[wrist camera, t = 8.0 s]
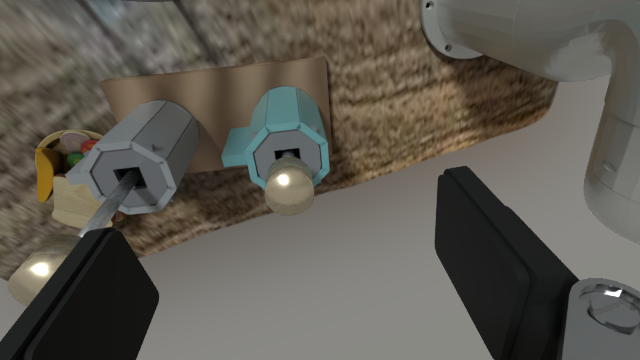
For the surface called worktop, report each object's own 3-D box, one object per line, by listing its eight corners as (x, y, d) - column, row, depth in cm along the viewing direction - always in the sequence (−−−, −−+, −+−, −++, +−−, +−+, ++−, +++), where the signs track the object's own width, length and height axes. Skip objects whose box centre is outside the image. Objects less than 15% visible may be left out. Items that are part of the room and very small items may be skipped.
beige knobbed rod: (160, 135, 33) (70, 254, 19) (177, 181, 35) (110, 313, 22) (104, 142, 32) (-28, 266, 18) (126, 187, 35) (25, 325, 21)
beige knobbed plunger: (306, 97, 39) (320, 162, 25) (310, 138, 42) (325, 217, 28) (261, 101, 39) (249, 171, 25) (268, 143, 42) (262, 225, 28)
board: (324, 56, 40) (326, 58, 39) (331, 152, 47) (332, 156, 46) (104, 79, 39) (99, 82, 38) (144, 174, 45) (141, 179, 44)
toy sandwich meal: (150, 144, 44) (137, 161, 40) (136, 220, 50) (123, 242, 46) (40, 111, 40) (14, 127, 36) (40, 198, 46) (17, 219, 42)
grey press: (189, 95, 39) (157, 137, 29) (206, 153, 43) (183, 208, 33) (100, 105, 39) (36, 151, 29) (126, 163, 43) (78, 221, 33)
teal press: (314, 82, 40) (325, 118, 30) (319, 140, 44) (331, 190, 34) (228, 91, 40) (210, 131, 29) (241, 149, 44) (229, 202, 33)
